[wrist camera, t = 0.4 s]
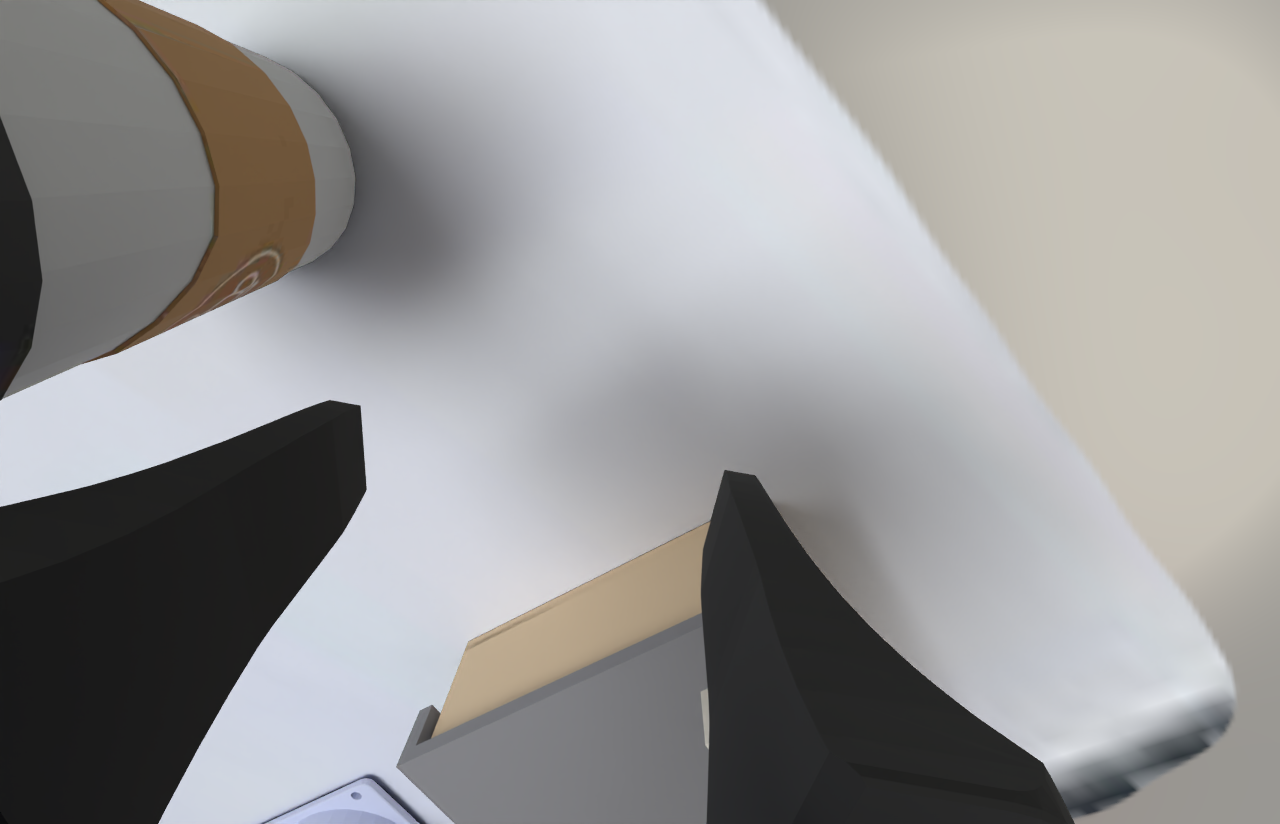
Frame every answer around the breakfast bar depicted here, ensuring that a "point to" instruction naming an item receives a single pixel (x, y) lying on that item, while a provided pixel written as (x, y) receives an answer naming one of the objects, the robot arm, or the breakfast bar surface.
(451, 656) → the breakfast bar surface
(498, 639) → the storage box
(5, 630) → the robot arm
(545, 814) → the grey square slab
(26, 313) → the coffee cup
